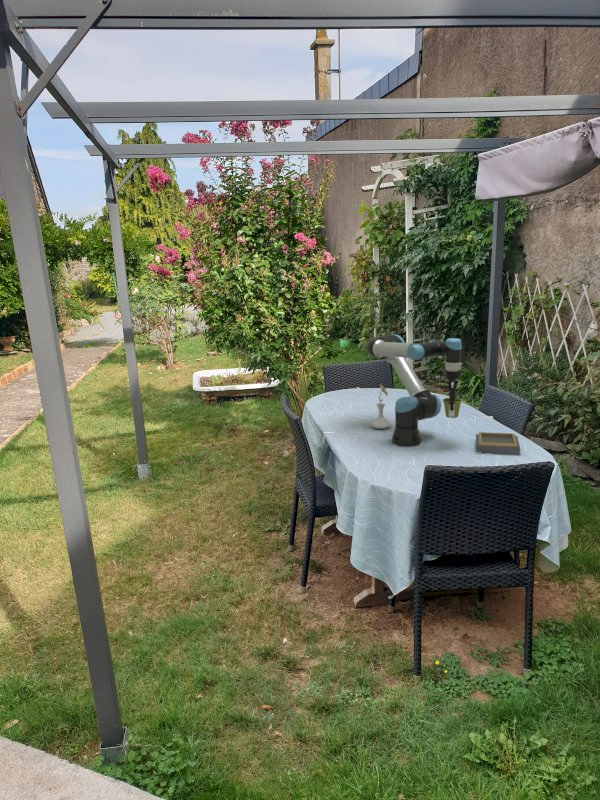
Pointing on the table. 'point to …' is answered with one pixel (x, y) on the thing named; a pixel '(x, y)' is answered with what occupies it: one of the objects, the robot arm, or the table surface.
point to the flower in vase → (381, 414)
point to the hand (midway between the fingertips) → (451, 413)
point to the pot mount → (497, 443)
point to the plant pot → (457, 407)
